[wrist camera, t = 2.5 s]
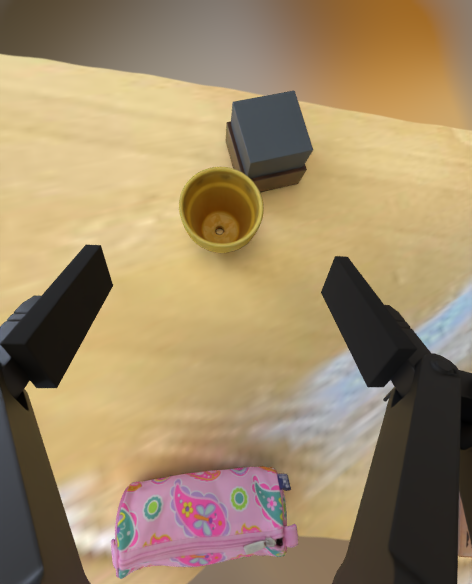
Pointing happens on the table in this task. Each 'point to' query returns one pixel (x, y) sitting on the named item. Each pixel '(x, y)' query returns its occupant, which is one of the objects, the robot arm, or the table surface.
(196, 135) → the table surface
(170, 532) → the pencil case
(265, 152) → the top block
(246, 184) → the flower pot
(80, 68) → the table surface
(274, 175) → the base block
